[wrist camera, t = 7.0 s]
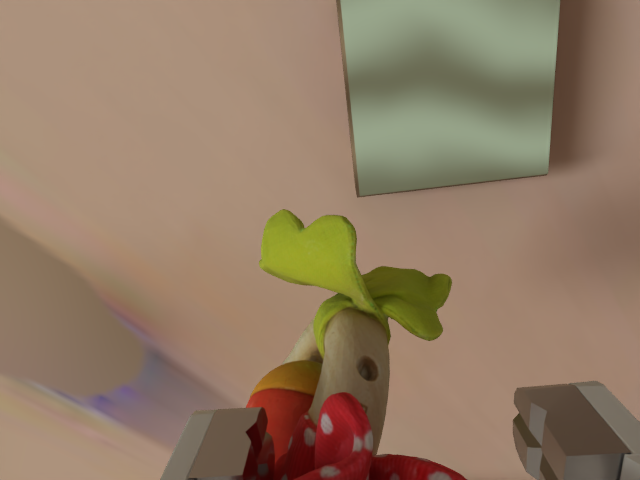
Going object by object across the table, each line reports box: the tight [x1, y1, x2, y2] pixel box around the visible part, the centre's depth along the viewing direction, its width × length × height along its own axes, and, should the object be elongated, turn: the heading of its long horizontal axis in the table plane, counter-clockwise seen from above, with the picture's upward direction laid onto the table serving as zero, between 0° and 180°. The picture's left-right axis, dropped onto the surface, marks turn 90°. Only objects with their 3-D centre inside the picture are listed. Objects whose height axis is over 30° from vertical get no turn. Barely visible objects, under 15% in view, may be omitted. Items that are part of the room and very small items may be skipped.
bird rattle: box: [246, 209, 466, 480], centre depth 10 cm, size 6×11×9 cm
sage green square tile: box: [336, 0, 560, 197], centre depth 25 cm, size 13×13×4 cm
